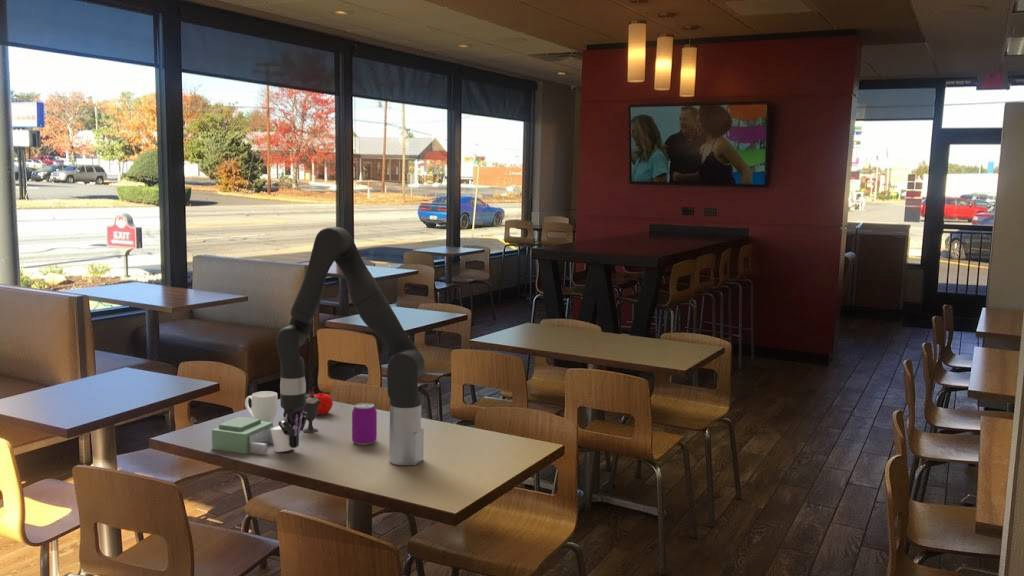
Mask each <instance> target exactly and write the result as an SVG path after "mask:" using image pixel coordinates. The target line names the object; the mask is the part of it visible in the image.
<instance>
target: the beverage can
mask: <svg viewBox="0 0 1024 576" xmlns="http://www.w3.org/2000/svg"><path fill="white" fill-rule="evenodd" d="M377 413H378V412H377V408H376V406H375V404H374V403H371V402H360V403H356V404H354V406H353V409H352V412H351V440H352V442H354V444H356V445H357V446H358V445H359V446H369V445H372V444H374V443H375V442H376V441H377V436H378V435H377V433H378V432H377V431H378V430H377V428H378V427H377V426H378V425H377V424H378V421H377V419H378V417H377V416H378V414H377Z"/></svg>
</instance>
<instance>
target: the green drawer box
mask: <svg viewBox="0 0 1024 576" xmlns="http://www.w3.org/2000/svg"><path fill="white" fill-rule="evenodd" d="M273 424H274V422H265V421H261V419H254V418H253V417H244V416H237V417H235V418H232V419H229V420H227V421H225V422H221V423H220V424H218V427H215V428H213V429H211V449H212V450H216V451H217V450H218V451H223V452H224V451H225V452H231V453H232V452H233V453H236V454H237V453H240V454H248V453H249V452H248V436H250V435H252V434H255V433H257V432H259V431H261V430H264V429H266V428H268V427H272V428H273V427H274V425H273Z"/></svg>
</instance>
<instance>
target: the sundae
mask: <svg viewBox="0 0 1024 576" xmlns="http://www.w3.org/2000/svg"><path fill="white" fill-rule="evenodd" d="M313 390H315V387H312V389H311V391H310V392H306V406H305V407H303V409H304V412H306V413H308V417H307V420H306V421H308V426H307V428H305V429H303V431H302V432H303V433H304V434H305V433H306V434H314V432H315V433H318V431H319V429H318V428H314V426H313V421H314V420H315V419H316V418H317V416H318V414H317V411H318V404H319V403H320V400H318V399H317V398H316V394H315V392H314V391H313Z"/></svg>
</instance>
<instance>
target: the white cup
mask: <svg viewBox="0 0 1024 576" xmlns="http://www.w3.org/2000/svg"><path fill="white" fill-rule="evenodd" d="M270 430H271V435H272V439H273V443H274V444H273V446H274V451H275V452H276V453H283V452H288V451H292V450H294V449H295V448H291V446H290V440H289V435H285V434H284V432H283V431H282V429H281V427H280V426H279V425H276V426H273V428H271V429H270Z"/></svg>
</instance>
